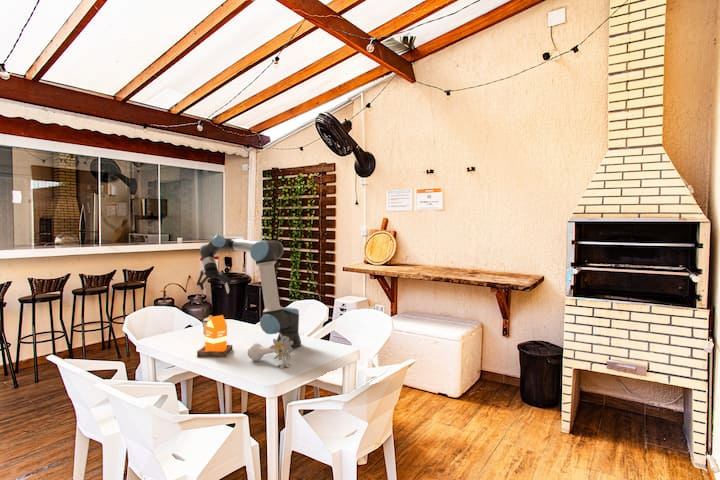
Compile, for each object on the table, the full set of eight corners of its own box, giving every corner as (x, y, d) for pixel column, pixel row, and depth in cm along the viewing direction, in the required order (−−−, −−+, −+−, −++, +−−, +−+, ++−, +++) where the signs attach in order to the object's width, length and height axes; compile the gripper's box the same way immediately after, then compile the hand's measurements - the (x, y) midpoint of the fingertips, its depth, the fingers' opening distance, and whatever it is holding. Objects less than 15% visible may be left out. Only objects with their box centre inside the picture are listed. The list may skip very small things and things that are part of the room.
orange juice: (204, 352, 232) (205, 316, 231) (218, 348, 239) (218, 314, 239) (213, 354, 227) (214, 318, 227) (226, 351, 235) (227, 315, 234)
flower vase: (249, 375, 218) (288, 371, 208) (239, 342, 216) (277, 336, 206) (264, 364, 230) (301, 359, 220) (254, 333, 228) (291, 326, 218)
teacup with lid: (220, 332, 280) (220, 315, 280) (209, 335, 273) (209, 317, 273) (208, 330, 287) (208, 313, 287) (197, 332, 279) (197, 315, 279)
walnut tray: (232, 350, 240) (232, 345, 240) (224, 357, 226) (224, 351, 226) (206, 349, 240) (206, 344, 240) (197, 356, 226) (197, 351, 226)
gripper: (228, 269, 269) (235, 295, 257) (187, 270, 254) (193, 298, 242) (231, 261, 265) (239, 287, 253) (190, 262, 250) (196, 290, 238)
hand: (216, 293), depth 248 cm, fingers open, 13 cm apart
